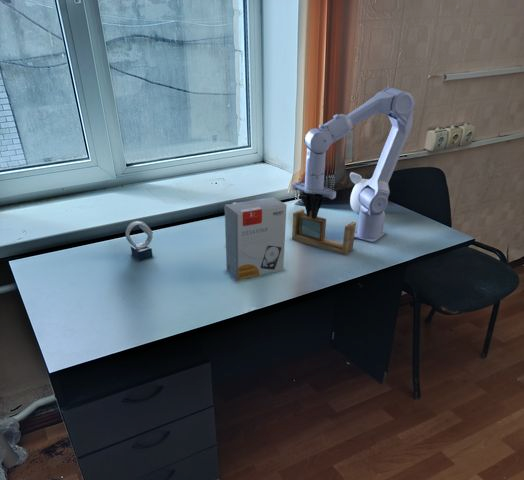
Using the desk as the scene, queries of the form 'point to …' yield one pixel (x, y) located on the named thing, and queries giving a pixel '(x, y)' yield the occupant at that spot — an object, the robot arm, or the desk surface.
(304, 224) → the sash
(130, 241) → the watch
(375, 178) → the robot arm
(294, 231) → the window frame
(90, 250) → the desk surface
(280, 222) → the hard drive box
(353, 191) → the piggy bank
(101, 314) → the desk surface
